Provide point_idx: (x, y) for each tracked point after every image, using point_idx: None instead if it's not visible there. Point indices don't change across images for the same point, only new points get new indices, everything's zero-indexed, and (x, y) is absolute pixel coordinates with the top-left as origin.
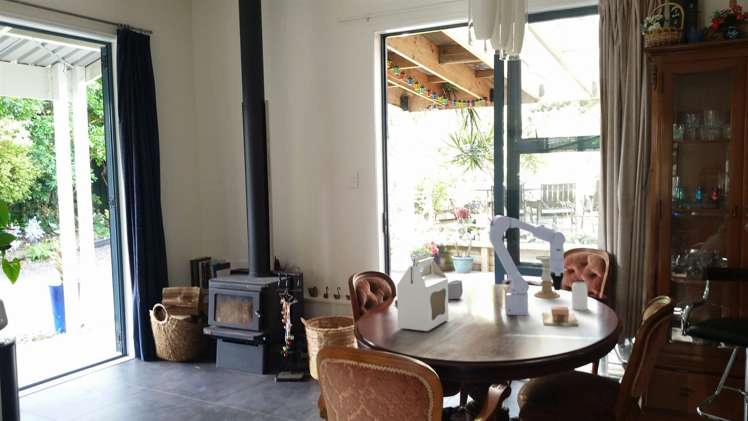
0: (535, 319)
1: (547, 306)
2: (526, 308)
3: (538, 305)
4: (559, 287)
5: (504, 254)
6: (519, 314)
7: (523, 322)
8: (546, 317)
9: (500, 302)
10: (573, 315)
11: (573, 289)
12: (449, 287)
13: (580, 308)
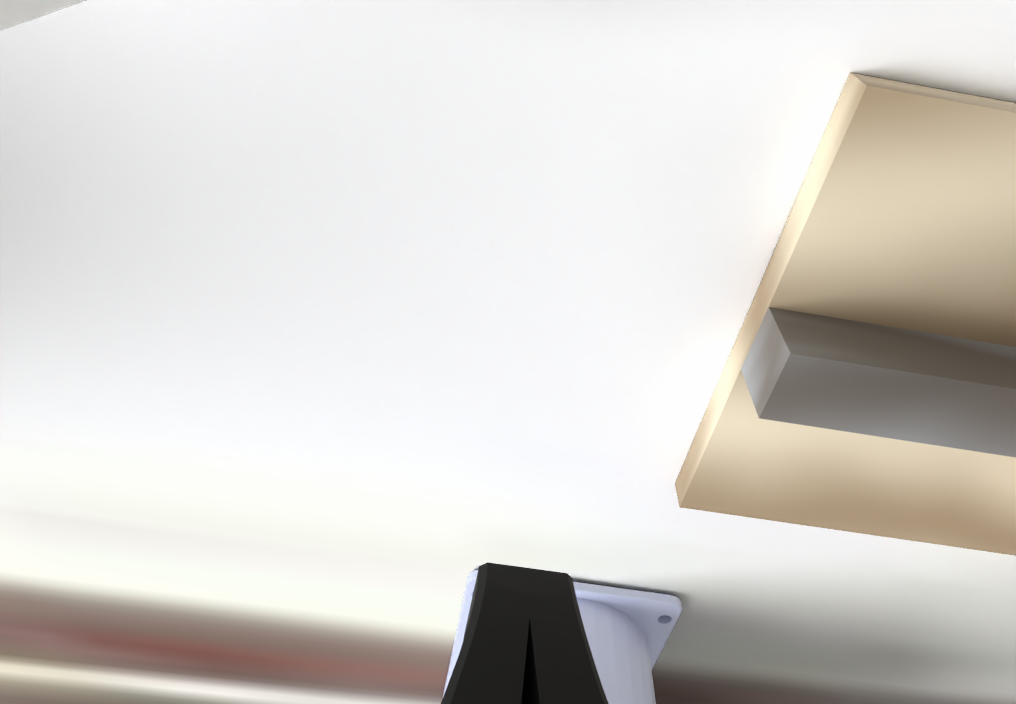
0: (889, 575)
1: (90, 323)
2: (630, 667)
3: (59, 417)
4: (587, 654)
5: None
6: (655, 660)
7: (977, 670)
8: (974, 516)
9: (40, 689)
10: (1008, 140)
11: (15, 21)
12: None
13: None
